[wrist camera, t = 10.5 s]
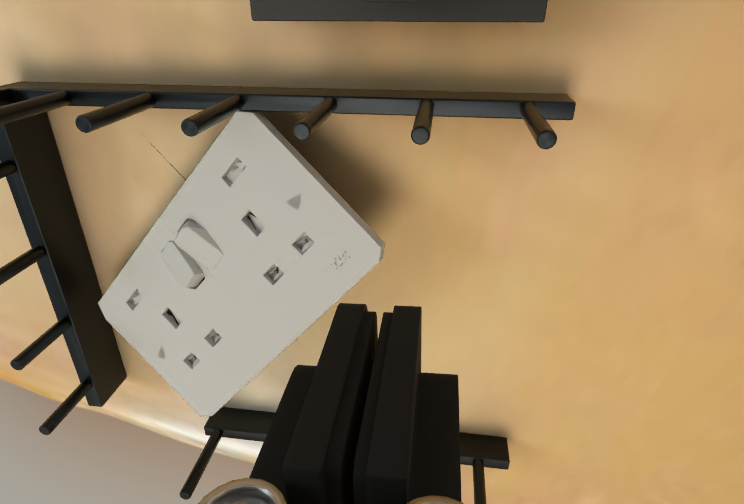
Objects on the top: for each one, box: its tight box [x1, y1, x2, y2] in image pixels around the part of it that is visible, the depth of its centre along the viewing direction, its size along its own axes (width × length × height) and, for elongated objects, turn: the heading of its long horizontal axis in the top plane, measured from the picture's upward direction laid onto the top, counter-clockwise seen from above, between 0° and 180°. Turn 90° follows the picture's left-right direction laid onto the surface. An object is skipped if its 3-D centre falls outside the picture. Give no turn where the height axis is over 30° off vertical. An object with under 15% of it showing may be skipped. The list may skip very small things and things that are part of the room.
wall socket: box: [98, 111, 385, 416], centre depth 29 cm, size 18×15×4 cm
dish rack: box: [0, 82, 576, 504], centre depth 28 cm, size 28×24×7 cm
